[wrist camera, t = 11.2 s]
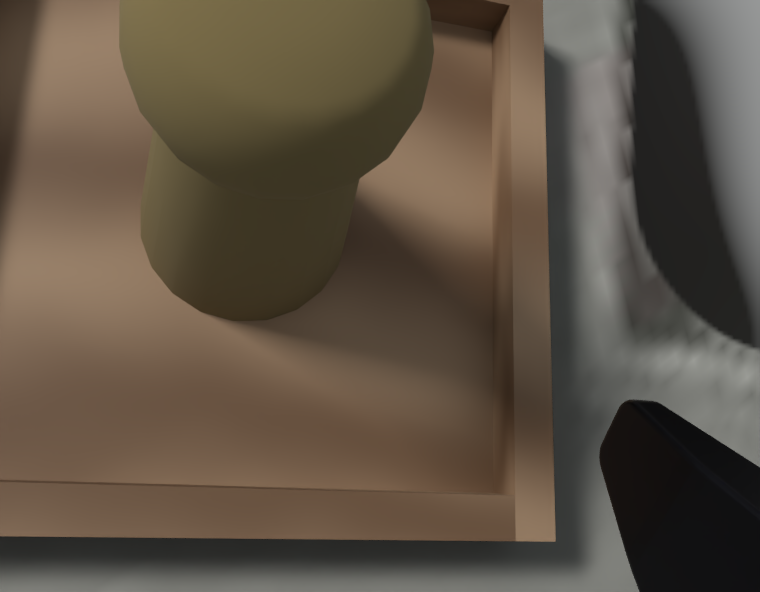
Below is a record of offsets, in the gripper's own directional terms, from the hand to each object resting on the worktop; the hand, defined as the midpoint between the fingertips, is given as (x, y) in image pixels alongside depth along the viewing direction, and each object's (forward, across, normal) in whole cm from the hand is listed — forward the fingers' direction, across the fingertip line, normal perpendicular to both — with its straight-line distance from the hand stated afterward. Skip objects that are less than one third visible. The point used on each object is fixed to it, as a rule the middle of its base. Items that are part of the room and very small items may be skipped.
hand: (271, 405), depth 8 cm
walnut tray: (+14, 0, +4) cm, 14 cm away
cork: (+13, 0, +4) cm, 13 cm away
